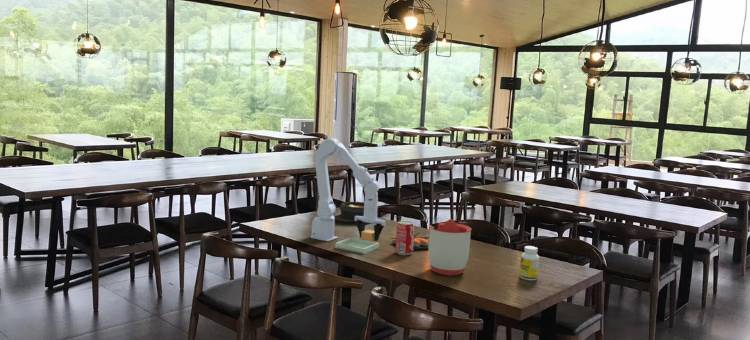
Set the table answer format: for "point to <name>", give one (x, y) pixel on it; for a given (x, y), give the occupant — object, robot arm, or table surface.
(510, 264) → the table surface
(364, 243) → the tray
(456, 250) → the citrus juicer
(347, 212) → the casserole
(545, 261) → the table surface
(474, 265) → the table surface
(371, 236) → the tan block
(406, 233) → the soda can
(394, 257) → the table surface
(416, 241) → the sushi plate
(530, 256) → the pill bottle
